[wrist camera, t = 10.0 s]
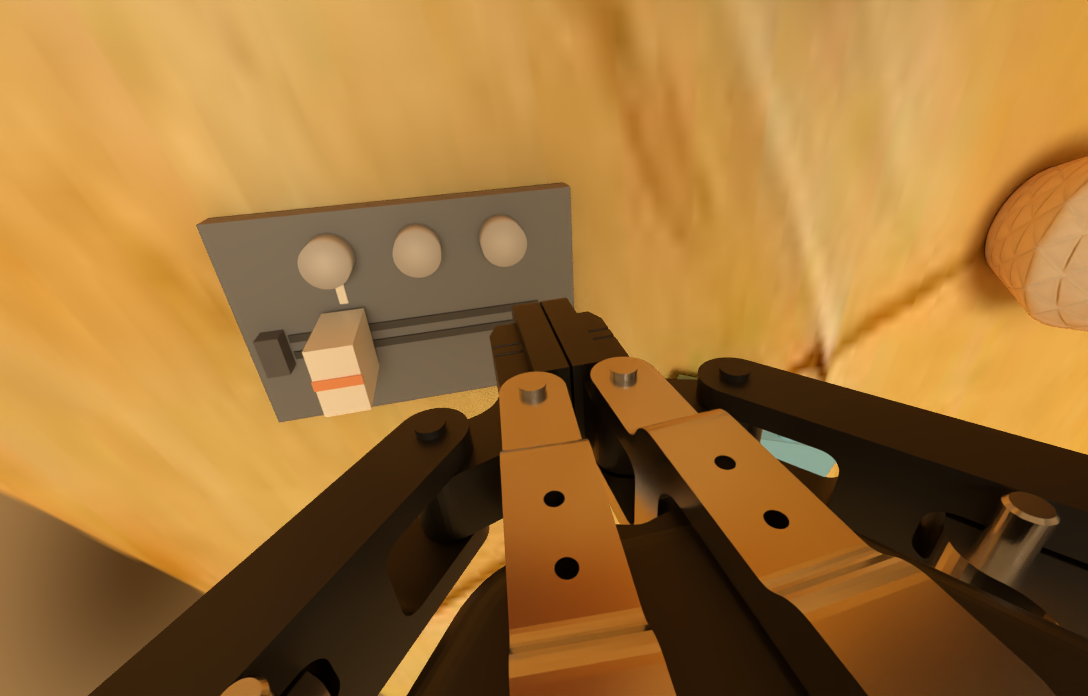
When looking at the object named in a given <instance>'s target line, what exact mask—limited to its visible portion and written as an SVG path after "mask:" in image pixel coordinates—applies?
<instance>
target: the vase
mask: <svg viewBox="0 0 1088 696" xmlns="http://www.w3.org/2000/svg"><path fill="white" fill-rule="evenodd" d="M985 257H986V261H987V263H988V265H989V267H990V268H991V269H992V270H993V272H994V273H995V274H996V275H997V277H998V278H999V279H1000V280H1001V281H1002V283H1003V284H1004V285H1005V286H1006V287H1007V289H1008V290H1009V291H1010V292H1011V294H1012V295H1013V296H1014V297H1015V298H1016V300H1017V301H1018V302H1019V303H1020V304H1021V306H1022V307H1023V308H1024V309H1025V311H1026V312H1027V313H1028V314H1029V315H1030V316H1031V317H1032V318H1034V319H1035V320H1037V321H1038V322H1040V323H1042V324H1045V325H1048V326H1052V327H1057V328H1065V329H1072V330H1080V331H1087V332H1088V156H1086V157H1083V158H1080V159H1076V160H1073V161H1070V162H1067V163H1063V164H1060V165H1057V166H1054V167H1051V168H1048V169H1046V170H1043V171H1041V172H1039V173H1038V174H1036V175H1034V176H1033V177H1031V178H1030V179H1028V180H1027V181H1026V182H1025V183H1023V184H1022V185H1021V186H1020V187H1019V188H1018V189H1017V190H1016V191H1015V192H1014V193H1013V194H1012V195H1011V196H1010V197H1009V198H1008V199H1007V200H1006V202H1005V203H1004V204H1003V206H1002V207H1001V208H1000V210H999V211H998V213H997V215H996V216H995V218H994V220H993V222H992V224H991V226H990V229H989V232H988V234H987V238H986V243H985Z"/></svg>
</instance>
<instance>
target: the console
mask: <svg viewBox="0 0 1088 696" xmlns="http://www.w3.org/2000/svg"><path fill="white" fill-rule="evenodd" d="M196 226H197V229H198V231H199V233H200V236H201V238H202V241H203V243H204V245H205V248H206V250H207V252H208V255H209V257H210V260H211V262H212V264H213V267H214V269H215V271H216V274H217V276H218V279H219V281H220V283H221V286H222V288H223V290H224V293H225V295H226V298H227V300H228V302H229V305H230V307H231V309H232V312H233V314H234V317H235V319H236V321H237V324H238V326H239V328H240V331H241V333H242V336H243V338H244V340H245V343H246V345H247V347H248V350H249V352H250V355H251V357H252V359H253V362H254V364H255V366H256V369H257V371H258V374H259V376H260V378H261V381H262V383H263V385H264V388H265V390H266V393H267V395H268V397H269V400H270V402H271V404H272V407H273V409H274V412H275V414H276V416H277V419H278V421H279V422H285V421H291V420H296V419H302V418H308V417H314V416H320V415H324V413H323V410H322V407H321V404H320V402H319V399H318V396H317V393H316V392H314V390H313V387H312V384H311V382H312V379H311V377H310V374H309V371H308V368H307V365H306V363H305V360H304V357H303V354H302V351H303V349H304V347H305V345H306V343H307V341H308V339H309V337H310V335H311V333H312V331H313V329H314V327H315V325H316V323H317V321H318V319H319V317H320V315H321V314H324V313H331V312H339V311H346V310H353V309H361V308H364V310H365V314H366V318H367V321H368V325H369V329H370V333H371V336H372V340H373V344H374V347H375V351H376V355H377V359H378V362H379V371H378V377H377V382H376V388H375V393H374V399H373V404H372V407H373V406H379V405H385V404H391V403H397V402H403V401H409V400H415V399H421V398H427V397H433V396H439V395H444V394H450V393H456V392H462V391H468V390H474V389H480V388H486V387H492V386H497V382H496V375H495V369H494V363H493V356H492V350H491V344H490V337H489V336H490V335H491V333H492V331H493V330H494V328H495V326H501V325H508V324H513V319H512V309H511V307H512V306H514V305H521V304H527V303H533V302H539V303H540V301H546V300H552V299H559V298H565V297H566V298H567V299H568V300H569V302H570V303H571V305H572V307H573V308H574V295H573V262H572V229H571V197H570V186H568V185H566V184H565V183H554V184H544V185H534V186H524V187H514V188H504V189H495V190H485V191H475V192H465V193H455V194H445V195H435V196H425V197H415V198H405V199H395V200H385V201H375V202H365V203H355V204H345V205H335V206H325V207H316V208H306V209H296V210H286V211H276V212H266V213H256V214H246V215H236V216H226V217H216V218H208V219H206V220H204V221H203V222H201V223H199V224H197V225H196Z"/></svg>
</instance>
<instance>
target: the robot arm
mask: <svg viewBox="0 0 1088 696" xmlns="http://www.w3.org/2000/svg"><path fill="white" fill-rule="evenodd" d="M511 309H512V319H513V324H508V325H501V326H495V328H494V330H493V331H492V333H491V335H490V336H489V337H490V344H491V350H492V356H493V363H494V369H495V375H496V382H497V387H498V392H499V398H498V400H497V401H496V403H495V404H494V405H493V406H492V407H491V408H489V409H488V410H486V411H485V412H483V413H481V414H479V415H477V416H475V417H472V418H470V419H467V418H466V416H465V415H464V414H463V413H461V412H460V411H457V410H455V409H450V408H435V409H429V410H425V411H422V412H419V413H417V414H415V415H413V416H411V417H409V418H408V419H406V420H405V421H404V422H403V423H401V424H400V425H399V426H398V427H397V428H396V429H395V430H393V431H392V432H391V433H390V434H389V435H388V436H386V437H385V438H384V439H383V440H382V441H381V442H380V443H378V444H377V445H376V446H375V447H374V448H373V449H372V450H370V451H369V452H368V453H367V454H366V455H365V456H363V457H362V458H361V459H360V460H359V461H358V462H357V463H355V464H354V465H353V466H352V467H351V468H350V469H348V470H347V471H346V472H345V473H344V474H343V475H342V476H340V477H339V478H338V479H337V480H336V481H335V482H333V483H332V484H331V485H330V486H329V487H328V488H327V489H325V490H324V491H323V492H322V493H321V494H320V495H319V496H317V497H316V498H315V499H314V500H313V501H312V502H310V503H309V504H308V505H307V506H306V507H305V508H304V509H302V510H301V511H300V512H299V513H298V514H297V515H295V516H294V517H293V518H292V519H291V520H290V521H289V522H287V523H286V524H285V525H284V526H283V527H282V528H280V529H279V530H278V531H277V532H276V533H275V534H274V535H272V536H271V537H270V538H269V539H268V540H267V541H266V542H264V543H263V544H262V545H261V546H260V547H259V548H257V549H256V550H255V551H254V552H253V553H252V554H251V555H249V556H248V557H247V558H246V559H245V560H244V561H242V562H241V563H240V564H239V565H238V566H237V567H236V568H234V569H233V570H232V571H231V572H230V573H229V574H228V575H226V576H225V577H224V578H223V579H222V580H221V581H219V582H218V583H217V584H216V585H215V586H214V587H213V588H211V589H210V590H209V591H208V592H207V593H206V594H204V595H203V596H202V597H201V598H200V599H199V600H198V601H197V602H195V603H194V604H193V605H192V606H191V607H189V608H188V609H187V610H186V611H185V612H184V613H183V614H182V615H180V616H179V617H178V618H177V619H176V620H175V621H173V622H172V623H171V624H170V625H169V626H168V627H167V628H165V629H164V630H163V631H162V632H161V633H160V634H158V636H156V637H155V638H154V639H153V640H151V641H150V642H149V643H148V644H147V645H146V646H145V647H143V648H142V649H141V650H140V651H139V652H138V653H137V654H135V655H134V656H133V657H132V658H131V659H130V660H128V661H127V663H125V664H124V665H123V666H122V667H120V668H119V669H118V670H117V671H116V672H115V673H113V674H112V675H111V676H110V677H109V678H108V679H107V680H105V681H104V682H103V683H102V684H101V685H100V686H99V687H97V688H96V689H95V690H94V691H93V692H92V693H90V694H89V695H88V696H378V694H379V693H380V691H381V690H382V688H383V687H384V685H385V684H386V683H387V681H388V680H389V678H390V677H391V675H392V674H393V673H394V671H395V670H396V668H397V667H398V665H399V664H400V662H401V661H402V660H403V658H404V657H405V655H406V654H407V652H408V651H409V650H410V648H411V647H412V645H413V644H414V642H415V641H416V639H417V638H418V637H419V635H420V634H421V632H422V631H423V629H424V628H425V627H426V625H427V624H428V622H429V621H430V619H431V618H432V616H433V615H434V614H435V612H436V611H437V609H438V608H439V606H440V605H441V604H442V602H443V601H444V599H445V598H446V596H447V595H448V593H449V592H450V591H451V589H452V588H453V586H454V585H455V583H456V582H457V581H458V579H459V578H460V576H461V575H462V573H463V572H464V570H465V569H466V568H467V566H468V565H469V563H470V562H471V560H472V559H473V558H474V556H475V555H476V553H477V552H478V550H479V549H480V548H481V546H482V545H483V543H484V542H485V540H486V538H487V536H488V533H489V525H491V524H493V523H495V522H496V521H498V520H500V519H502V518H503V523H504V542H505V561H506V565H505V566H504V567H502V568H501V569H499V570H497V571H496V572H495V573H494V574H492V575H491V576H490V577H489V578H487V579H486V580H485V581H484V582H483V583H482V584H481V585H480V586H479V587H478V588H477V589H476V590H475V591H474V592H473V593H472V594H471V596H470V597H469V598H468V599H467V601H466V602H465V603H464V604H463V606H462V607H461V608H460V610H459V611H458V613H457V614H456V616H455V617H454V619H453V621H452V622H451V624H450V626H449V627H448V629H447V630H446V632H445V634H444V635H443V637H442V639H441V640H440V642H439V644H438V645H437V647H436V648H435V650H434V652H433V653H432V655H431V657H430V658H429V660H428V662H427V663H426V665H425V666H424V668H423V670H422V671H421V673H420V675H419V676H418V678H417V680H416V681H415V683H414V684H413V686H412V688H411V689H410V691H409V693H408V694H407V696H1088V455H1086V454H1082V453H1079V452H1075V451H1072V450H1068V449H1064V448H1061V447H1057V446H1054V445H1050V444H1046V443H1043V442H1039V441H1036V440H1032V439H1028V438H1025V437H1021V436H1018V435H1014V434H1010V433H1007V432H1003V431H1000V430H996V429H992V428H989V427H985V426H982V425H978V424H975V423H971V422H967V421H964V420H960V419H957V418H953V417H949V416H946V415H942V414H939V413H935V412H931V411H928V410H924V409H921V408H917V407H913V406H910V405H906V404H903V403H899V402H895V401H892V400H888V399H885V398H881V397H877V396H874V395H870V394H867V393H863V392H859V391H856V390H852V389H849V388H845V387H841V386H838V385H834V384H831V383H827V382H823V381H820V380H816V379H813V378H809V377H805V376H802V375H798V374H795V373H791V372H787V371H784V370H780V369H777V368H773V367H769V366H766V365H762V364H759V363H755V362H751V361H748V360H744V359H739V358H716V359H712V360H709V361H707V362H705V363H703V364H702V365H701V366H700V367H699V370H698V377H697V379H666V378H664V377H663V376H662V375H661V374H660V373H659V372H658V371H657V370H656V369H655V368H654V367H653V366H652V365H651V364H650V363H648V362H646V361H644V360H641V359H638V358H633V357H629V356H628V354H627V353H626V351H625V350H624V349H623V347H622V346H621V345H620V343H619V342H618V340H617V339H616V338H615V337H614V336H613V334H612V332H611V331H610V329H608V327H607V325H606V324H605V323H604V321H603V320H602V318H600V317H598V316H596V315H594V314H592V313H590V312H582V313H576V311H575V310H574V308H573V307H572V305H571V303H570V302H569V300H568V299H567V298H566V297H565V298H559V299H552V300H546V301H540V303H539V302H533V303H527V304H521V305H514V306H512V307H511ZM762 430H766V431H768V432H771V433H774V434H777V435H780V436H782V437H785V438H788V439H791V440H794V441H796V442H799V443H802V444H805V445H807V446H810V447H813V448H816V449H819V450H821V451H824V452H825V453H827V454H829V455H830V456H831V457H832V458H833V459H834V460H835V461H836V463H837V464H838V467H839V475H838V477H834V478H828V477H823V476H820V475H818V474H815V473H812V472H810V471H807V470H805V469H802V468H799V467H797V466H794V465H792V464H789V463H787V462H784V461H781V460H779V459H776V458H775V457H774V456H773V455H772V454H771V453H770V452H769V451H768V450H767V449H766V448H765V447H764V446H763V445H761V444H760V441H761V435H762ZM609 504H610V505H609ZM610 506H611V508H612V510H613V512H614V514H615V516H616V518H617V519H618V521H619V523H620V524H615V521H614V518H613V515H612V512H611V508H610Z"/></svg>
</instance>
